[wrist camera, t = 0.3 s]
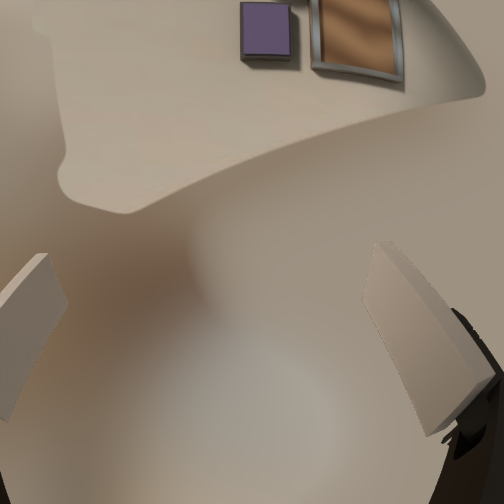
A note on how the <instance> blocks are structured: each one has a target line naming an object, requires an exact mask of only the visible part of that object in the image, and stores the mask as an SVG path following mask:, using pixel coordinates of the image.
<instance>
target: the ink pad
mask: <svg viewBox="0 0 504 504" xmlns="http://www.w3.org/2000/svg"><path fill="white" fill-rule="evenodd" d="M291 59H292V25H291V4H288V3H273V2H240V60H273V61H290V60H291Z"/></svg>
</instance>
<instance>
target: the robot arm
mask: <svg viewBox="0 0 504 504" xmlns="http://www.w3.org/2000/svg"><path fill="white" fill-rule="evenodd" d="M362 301H363V303H364V305H365V307H366V309H367V311H368V313H369V314H370V316H371V318H372V320H373V322H374V324H375V326H376V328H377V330H378V332H379V334H380V336H381V337H382V340H383V342H384V344H385V346H386V348H387V350H388V352H389V354H390V355H391V358H392V360H393V362H394V364H395V366H396V368H397V370H398V372H399V375H400V377H401V379H402V381H403V383H404V385H405V388H406V390H407V392H408V394H409V397H410V399H411V401H412V404H413V406H414V408H415V410H416V413H417V415H418V417H419V420H420V423H421V425H422V428H423V430H424V432H425V435H426V437H428V436H430V435H432V434H435V433H437V432H439V431H441V430H444V429H445V428H447V427H448V426H449V425H450V423H452V422H453V421H454V420H455V419H456V421H457V423H458V425H457V426H456V427H455V428H454V429H453V430H452V431H451V432H450V433H448V434H447V435H446V436H445V437H444V438H443V440H442V442H441V443H442V444H443V443H445V442H446V441H447V440H449V439H450V438H451V437H452V439H451V441H450V442H449V443H448V444H447V445H449V449H448V453H447V456H446V459H445V462H444V465H443V468H442V471H441V474H440V477H439V479H438V482H437V485H436V487H435V490H434V492H433V495H432V497H431V499H430V502H429V504H504V372H503V371H502V369H501V367H500V366H499V364H498V363H497V361H496V360H495V358H494V357H493V355H492V354H491V352H490V351H489V349H488V348H487V346H486V345H485V344H484V342H483V341H482V339H479V335H478V334H477V332H476V331H475V330H473V327H472V326H471V324H470V323H469V322H468V320H467V319H466V318H465V317H464V316H463V315H461V314H460V313H459V312H458V311H456V310H455V309H454V308H451V309H450V308H449V306H448V305H447V304H446V303H445V301H444V300H443V299H442V298H441V297H440V295H439V294H438V293H437V292H436V290H435V289H434V288H433V287H432V286H431V284H430V283H429V282H428V281H427V280H426V279H425V277H424V276H423V275H422V274H421V273H420V272H419V271H418V269H417V268H416V267H415V266H414V265H413V264H412V263H411V262H410V260H409V259H408V258H407V257H406V256H405V255H404V254H403V253H402V252H401V251H400V250H399V249H398V248H397V246H395V244H394V243H393V242H376V243H375V247H374V252H373V257H372V261H371V265H370V270H369V274H368V278H367V282H366V286H365V290H364V293H363V297H362ZM68 306H69V304H68V302H67V300H66V298H65V295H64V293H63V290H62V288H61V286H60V283H59V281H58V278H57V275H56V273H55V270H54V267H53V265H52V262H51V259H50V256H49V254H48V253H45V254H44V253H41V254H36V255H35V256H34V257H33V258H32V259H31V260H30V261H29V262H28V263H27V264H26V265H25V266H24V267H23V268H22V269H21V271H20V272H19V273H18V274H17V275H16V276H15V277H14V278H13V279H12V280H11V281H10V283H9V284H8V285H7V286H6V287H5V288H4V289H3V291H2V292H1V293H0V419H1V420H3V421H5V422H7V423H8V421H9V419H10V416H11V414H12V411H13V409H14V406H15V404H16V402H17V399H18V397H19V395H20V392H21V391H22V388H23V386H24V384H25V382H26V380H27V378H28V376H29V374H30V372H31V370H32V368H33V366H34V364H35V362H36V360H37V358H38V357H39V355H40V353H41V351H42V349H43V347H44V346H45V344H46V342H47V340H48V339H49V337H50V335H51V333H52V332H53V330H54V328H55V327H56V325H57V323H58V322H59V320H60V318H61V317H62V315H63V313H64V312H65V310H66V309H67V307H68ZM0 504H11V503H10V500H9V497H8V495H7V492H6V489H5V486H4V483H3V479H2V476H1V472H0Z"/></svg>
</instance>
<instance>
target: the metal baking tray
mask: <svg viewBox="0 0 504 504" xmlns="http://www.w3.org/2000/svg"><path fill="white" fill-rule="evenodd" d="M308 5H309V25H310V57H311V69H320V70H329V71H336V72H343V73H350V74H356V75H361V76H367V77H372V78H377V79H381V80H386V81H390V82H394V83H403V54H402V38H401V26H400V16H399V8H398V1H397V0H308Z"/></svg>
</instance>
